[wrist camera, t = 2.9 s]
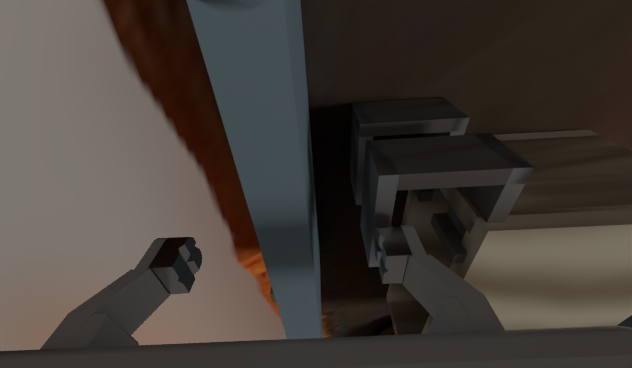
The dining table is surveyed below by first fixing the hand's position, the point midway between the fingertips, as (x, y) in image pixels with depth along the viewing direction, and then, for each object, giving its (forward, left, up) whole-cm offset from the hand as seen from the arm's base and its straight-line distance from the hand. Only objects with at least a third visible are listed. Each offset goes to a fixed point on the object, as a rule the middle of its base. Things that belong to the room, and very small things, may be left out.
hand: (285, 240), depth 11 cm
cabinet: (+10, +12, -9) cm, 18 cm away
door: (0, 0, -9) cm, 9 cm away
